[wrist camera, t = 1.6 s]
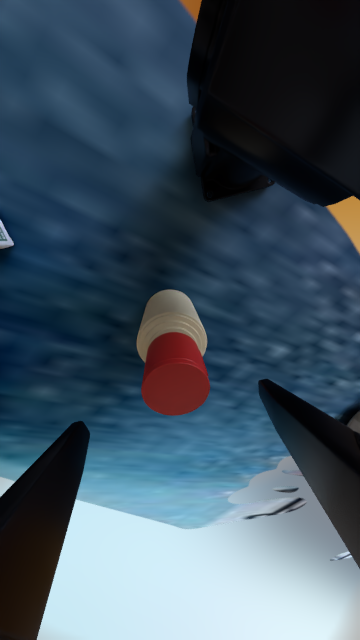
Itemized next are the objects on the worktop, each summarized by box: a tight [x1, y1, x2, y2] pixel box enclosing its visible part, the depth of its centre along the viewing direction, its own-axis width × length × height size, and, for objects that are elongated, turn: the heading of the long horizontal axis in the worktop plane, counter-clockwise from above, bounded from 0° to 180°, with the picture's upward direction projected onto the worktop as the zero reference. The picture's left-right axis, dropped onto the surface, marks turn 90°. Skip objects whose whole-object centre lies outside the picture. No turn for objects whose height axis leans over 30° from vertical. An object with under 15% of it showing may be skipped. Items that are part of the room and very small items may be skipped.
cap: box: [141, 332, 210, 415], centre depth 12 cm, size 4×4×4 cm
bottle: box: [137, 289, 207, 363], centre depth 16 cm, size 6×6×11 cm
